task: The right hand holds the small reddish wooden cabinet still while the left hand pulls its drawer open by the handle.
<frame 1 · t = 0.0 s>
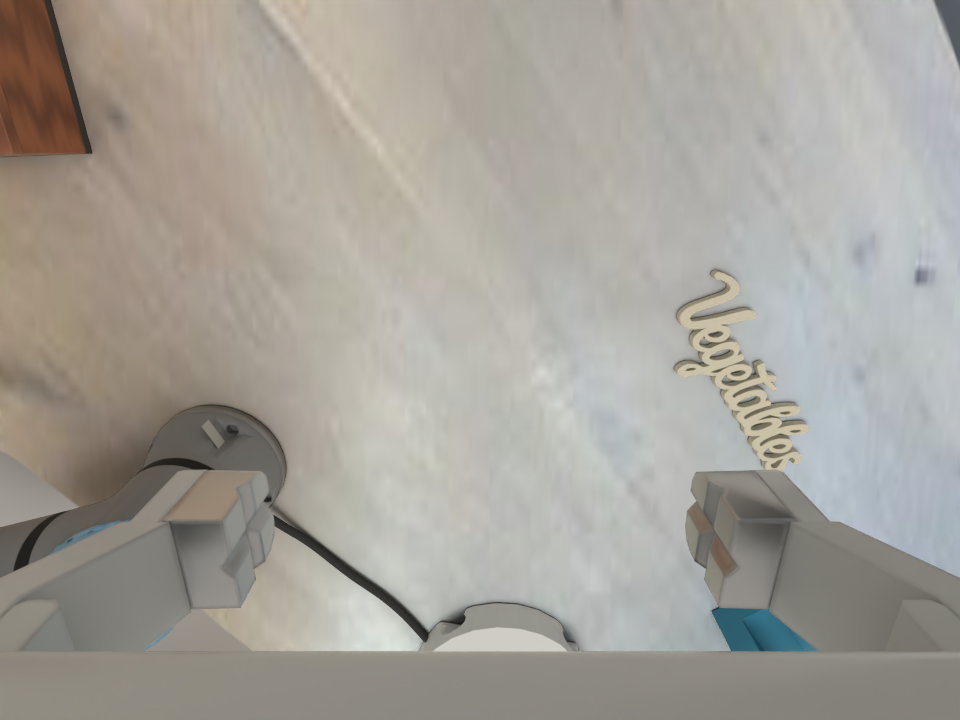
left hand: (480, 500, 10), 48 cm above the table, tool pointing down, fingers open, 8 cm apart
decorative sign: (735, 382, 62), on the table
cabinet: (5, 41, 50), on the table
camera mount: (775, 633, 75), on the table
ashtray: (498, 664, 78), on the table
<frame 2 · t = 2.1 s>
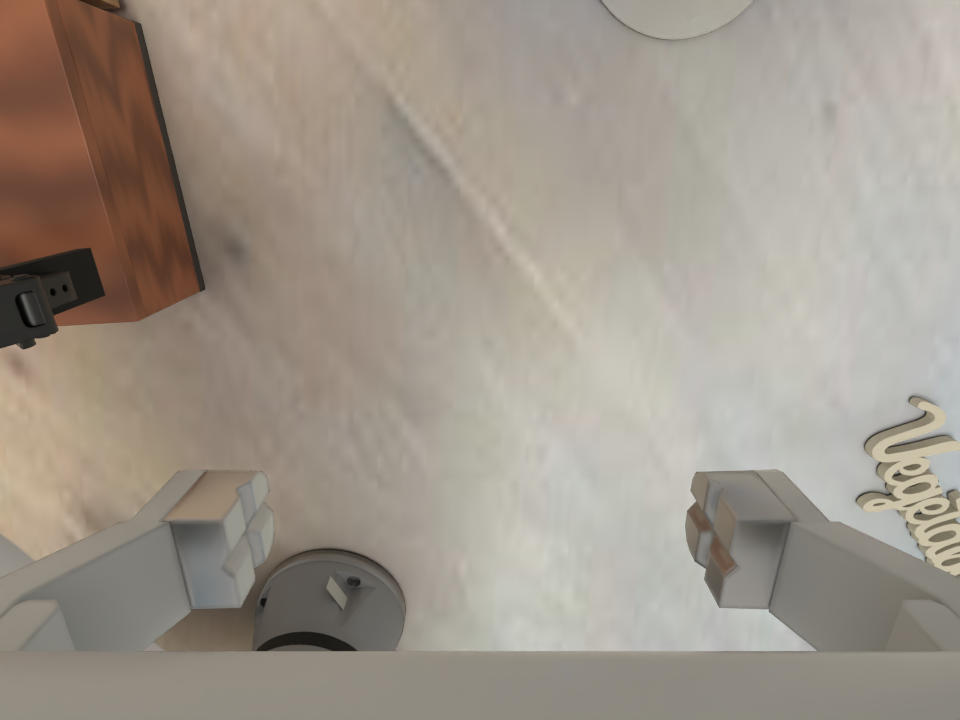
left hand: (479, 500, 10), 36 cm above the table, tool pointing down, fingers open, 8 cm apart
decorative sign: (924, 513, 54), on the table
drawer: (42, 91, 36), point 5 cm above the table, slide at 0.8 cm
cabinet: (111, 171, 43), on the table
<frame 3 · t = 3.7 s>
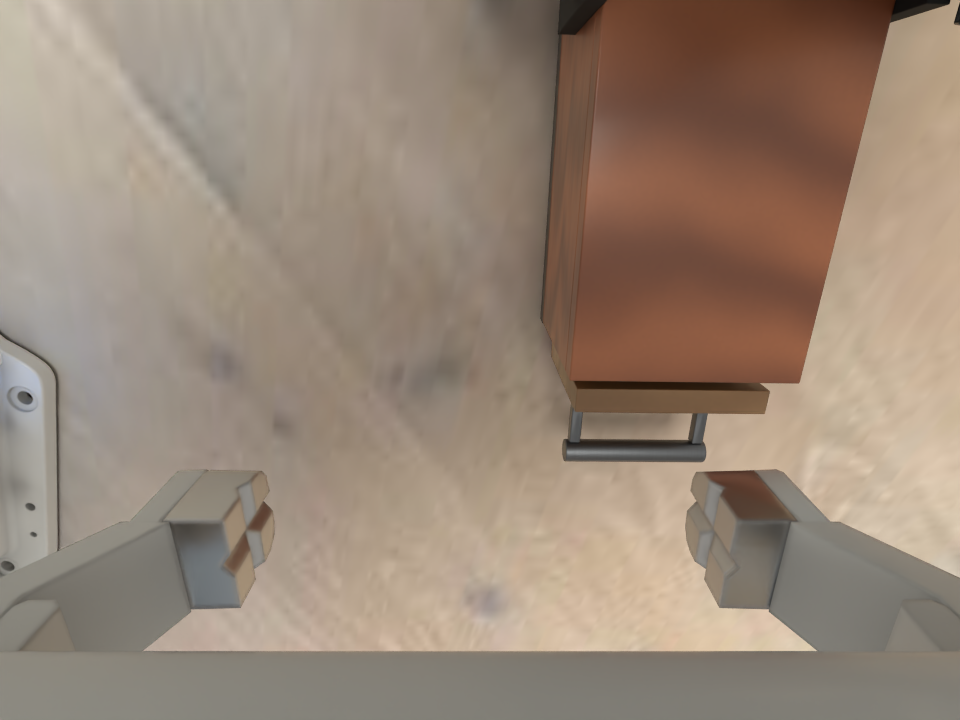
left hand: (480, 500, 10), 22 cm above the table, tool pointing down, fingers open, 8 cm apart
drawer: (663, 258, 27), point 5 cm above the table, slide at 0.8 cm
cabinet: (646, 146, 29), on the table, touching right hand
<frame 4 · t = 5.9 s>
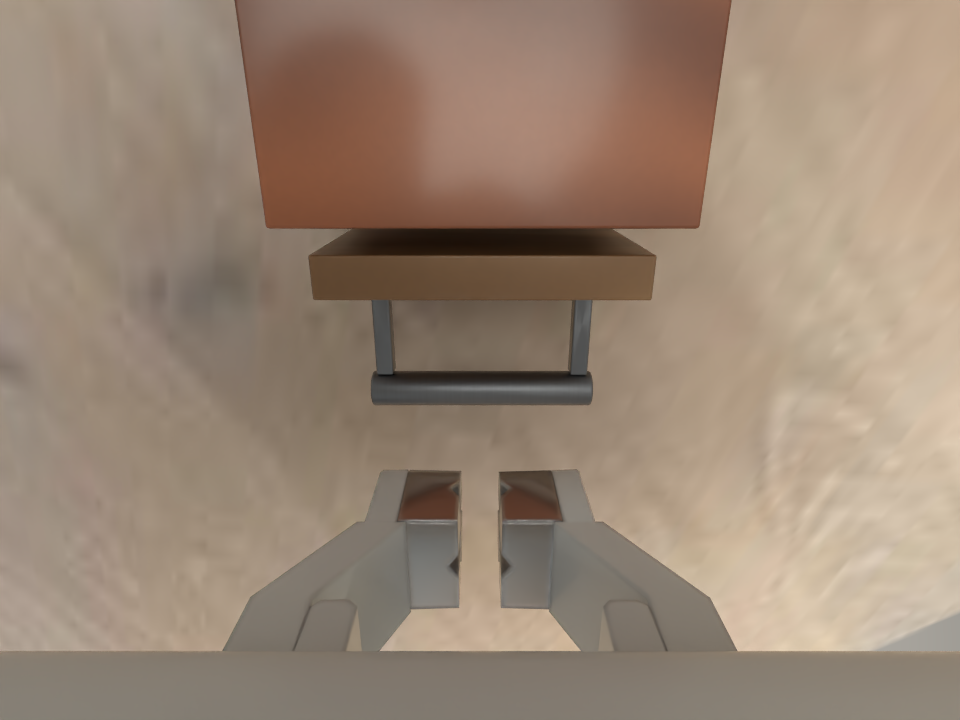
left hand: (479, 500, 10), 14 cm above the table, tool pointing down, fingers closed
drawer: (482, 43, 16), point 5 cm above the table, slide at 0.8 cm
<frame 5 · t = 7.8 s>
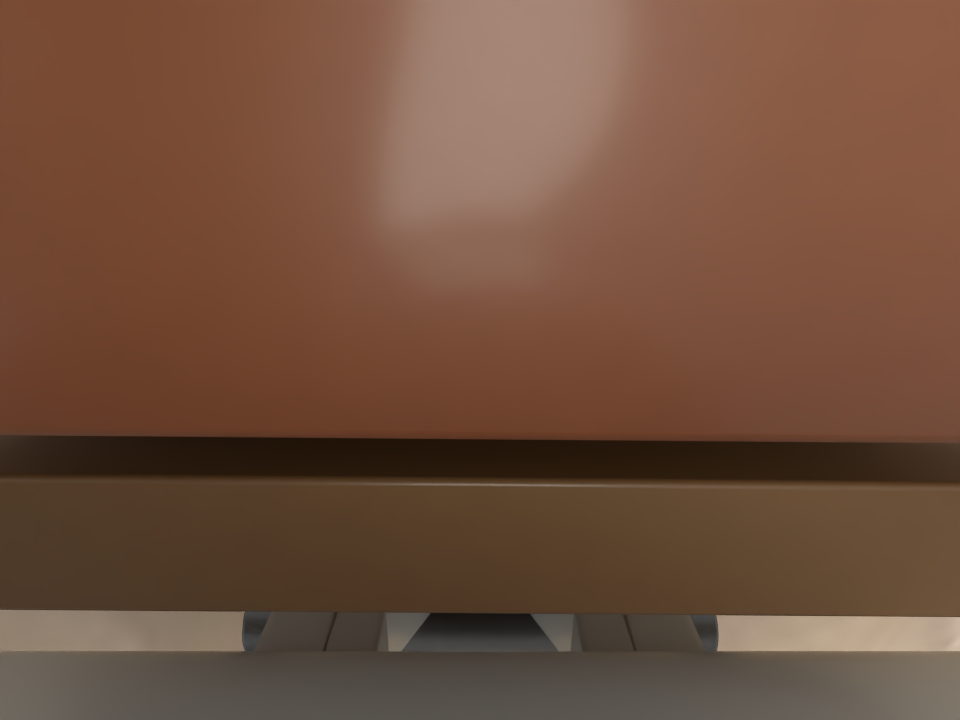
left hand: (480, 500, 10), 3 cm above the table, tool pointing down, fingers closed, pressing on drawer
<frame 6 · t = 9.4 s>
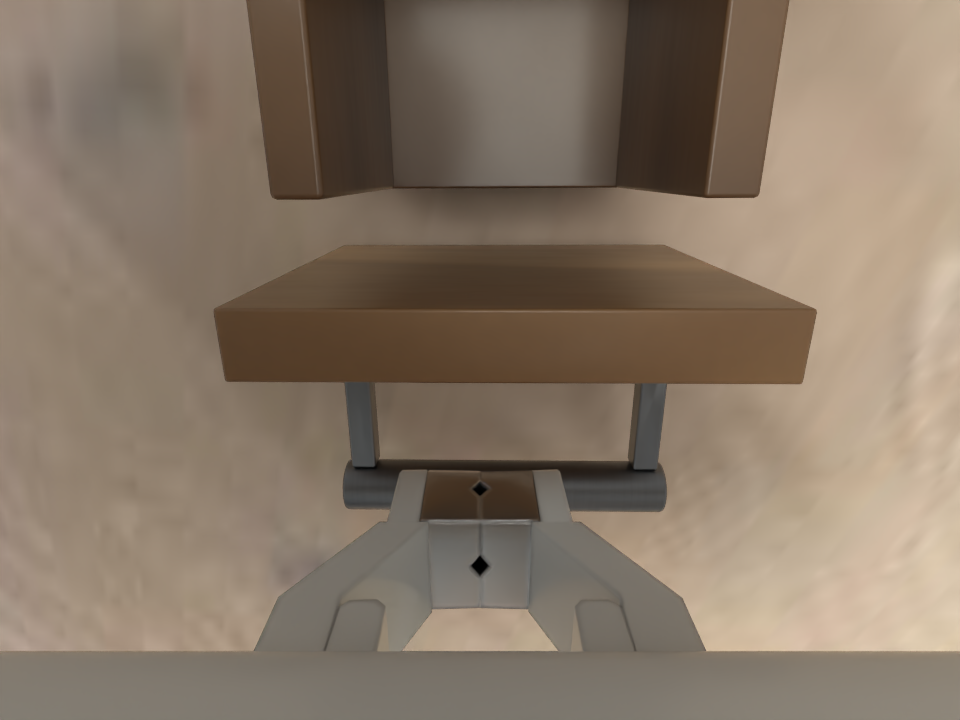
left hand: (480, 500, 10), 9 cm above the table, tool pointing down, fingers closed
when the right hand's fingers open (5 cm above the table, at t = 10.6 s): cabinet stays where it is, on the table.
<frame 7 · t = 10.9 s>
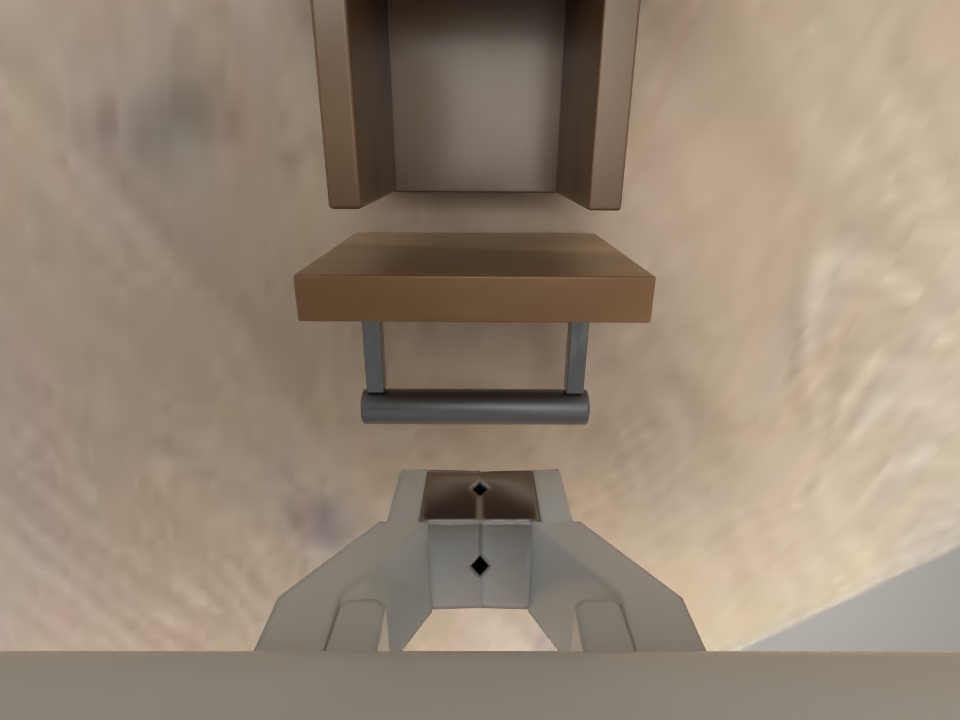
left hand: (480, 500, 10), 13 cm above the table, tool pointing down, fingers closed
drawer: (476, 54, 15), point 5 cm above the table, slide at 7.3 cm
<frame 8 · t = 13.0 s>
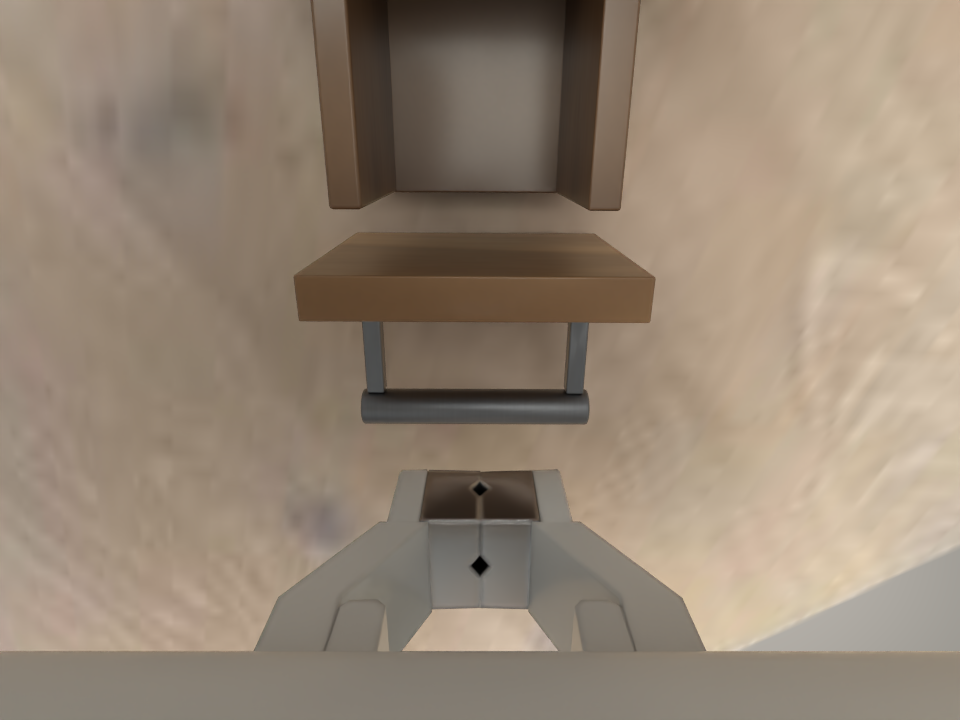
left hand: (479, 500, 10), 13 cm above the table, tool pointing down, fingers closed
drawer: (476, 55, 15), point 5 cm above the table, slide at 7.3 cm
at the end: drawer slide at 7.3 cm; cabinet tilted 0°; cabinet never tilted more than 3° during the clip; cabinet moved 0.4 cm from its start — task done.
